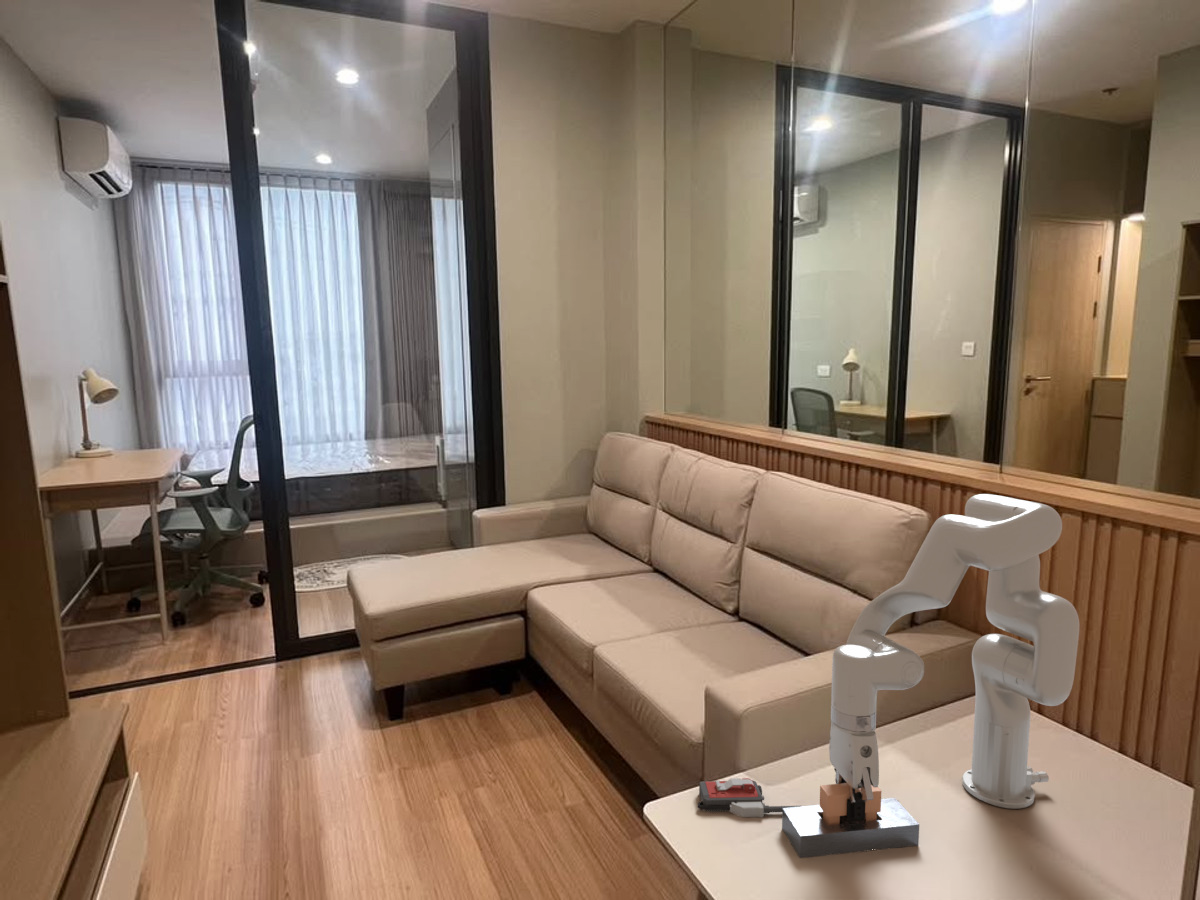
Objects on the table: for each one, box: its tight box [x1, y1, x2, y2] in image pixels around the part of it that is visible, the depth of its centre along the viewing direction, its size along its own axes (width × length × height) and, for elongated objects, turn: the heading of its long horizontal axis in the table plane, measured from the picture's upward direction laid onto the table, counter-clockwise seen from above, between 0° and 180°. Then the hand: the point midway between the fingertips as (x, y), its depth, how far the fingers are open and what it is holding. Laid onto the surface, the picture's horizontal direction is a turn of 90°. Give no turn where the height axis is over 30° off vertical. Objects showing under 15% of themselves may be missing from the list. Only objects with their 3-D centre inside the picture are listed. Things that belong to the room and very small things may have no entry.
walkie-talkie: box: [697, 777, 801, 818], centre depth 139 cm, size 9×4×20 cm
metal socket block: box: [781, 797, 920, 859], centre depth 129 cm, size 22×8×4 cm, turn 98°
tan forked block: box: [819, 783, 882, 826], centre depth 128 cm, size 10×3×9 cm, turn 98°
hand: (850, 812), depth 128 cm, fingers closed on tan forked block, 3 cm apart
